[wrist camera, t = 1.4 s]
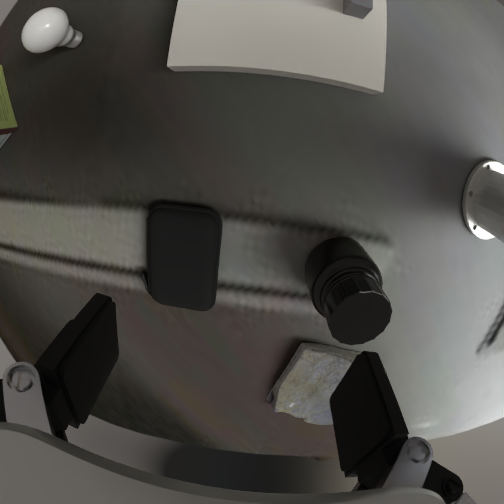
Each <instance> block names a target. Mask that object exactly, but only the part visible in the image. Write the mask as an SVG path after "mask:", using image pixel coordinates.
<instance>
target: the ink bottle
mask: <svg viewBox="0 0 504 504" xmlns="http://www.w3.org/2000/svg"><path fill="white" fill-rule="evenodd" d="M305 276H306V281H307V284H308V288H309V292H310V296H311V300H312V303H313V305H314V307H315V309H316V310H317V311H318V312H319V313H320V314H321V315H322V316H323V317H325V318H326V320H327V323H328V327H329V329H330V331H331V334H332V337H333V338H335V339H336V340H338V341H339V342H340V343H344V344H349V345H356V344H364V343H365V342H368V341H370V340H373V339H375V337H377V336H378V335H379V334H380V333H382V332H383V331H384V329H385V328H386V326H387V325H388V323H389V322H390V318H391V314H392V309H391V304H390V301H389V299H388V298H387V296H386V294H385V293H384V291H383V290H382V276H381V273H380V270H379V268H378V267H377V265H376V264H375V263H374V261H373V260H372V259H371V257H370V256H369V255H368V253H367V252H366V251H365V250H364V248H363V247H362V246H361V245H360V244H359V243H358V242H356V241H355V240H353V239H350V238H346V237H336V238H331V239H328V240H326V241H324V242H322V243H320V244H319V245H317V246H316V247H315V248H314V249H313V250H312V251H311V252H310V254H309V256H308V258H307V260H306V264H305Z"/></svg>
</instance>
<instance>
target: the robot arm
mask: <svg viewBox="0 0 504 504" xmlns="http://www.w3.org/2000/svg"><path fill="white" fill-rule="evenodd" d="M463 216H464V220H465V223H466V225H467V227H468V229H469V230H470V232H471V233H472V234H474V235H475V236H476V237H478V238H480V239H484V240H485V239H491V238H493V237H496V238H497V239H499V240H501V241H502V242H504V165H503V164H501V163H500V162H497V161H494V160H485V161H483V162H481V163H479V164H478V165H477V166H476V167H475V168H474V169H473V171H472V172H471V174H470V176H469V177H468V180H467V182H466V185H465V189H464V193H463ZM118 356H119V348H118V337H117V323H116V305H115V302H112V298H111V297H109V296H106V295H103V294H100V293H96V294H95V295H94V296H93V297H92V298H91V300H90V301H89V302H88V303H87V304H86V305H85V307H84V308H83V309H82V310H81V311H80V312H79V314H78V315H77V316H76V317H75V318H74V320H70V321H69V322H68V323H67V324H66V325H65V327H64V328H63V329H62V330H61V331H60V333H59V334H58V335H57V336H56V338H55V339H54V340H53V341H52V343H51V344H50V345H49V347H48V348H47V349H46V350H45V352H44V353H43V354H42V356H41V357H40V358H39V360H38V361H37V362H36V364H35V365H34V366H32V365H31V364H29V363H26V362H17V363H14V364H12V365H10V366H9V367H8V368H7V369H6V370H5V372H4V374H3V379H0V504H476V503H475V502H474V500H473V499H472V498H471V497H470V496H469V495H468V494H467V493H466V492H465V493H463V483H462V481H461V479H460V478H459V477H458V476H457V475H456V474H454V473H453V472H451V471H449V470H447V469H446V468H444V467H443V466H441V465H440V464H438V463H436V462H435V461H433V460H432V459H433V450H432V448H431V445H430V444H429V443H428V442H427V441H426V440H425V439H423V438H421V437H411V438H409V439H408V436H407V435H408V434H409V432H408V429H407V427H406V424H405V421H404V418H403V416H402V413H401V410H400V407H399V405H398V402H397V399H396V397H395V394H394V392H393V389H392V387H391V384H390V382H389V379H388V377H387V374H386V372H385V369H384V367H383V365H382V362H381V360H380V357H379V355H378V353H376V352H369V351H363V352H361V354H358V355H357V356H356V357H355V359H354V361H353V362H352V364H351V366H350V367H349V369H348V370H347V372H346V373H345V375H344V377H343V378H342V380H341V381H340V383H339V384H338V386H337V387H336V389H335V390H334V392H333V393H332V395H331V397H330V402H329V403H330V409H331V414H332V420H333V425H334V431H335V437H336V443H337V449H338V455H339V461H340V467H341V470H342V471H344V473H345V477H356V476H357V477H358V483H357V484H356V486H355V487H354V489H353V490H352V491H351V492H340V493H324V494H273V493H257V492H245V491H236V490H228V489H221V488H215V487H209V486H203V485H198V484H192V483H188V482H183V481H179V480H175V479H170V478H166V477H162V476H159V475H155V474H152V473H148V472H145V471H141V470H138V469H135V468H132V467H129V466H126V465H123V464H121V463H118V462H115V461H112V460H110V459H107V458H104V457H102V456H99V455H97V454H94V453H92V452H89V451H87V450H85V449H82V448H80V447H78V446H75V445H73V444H71V443H69V442H68V439H67V436H66V433H65V430H66V429H67V427H68V425H71V426H73V427H75V428H77V429H78V427H79V425H80V423H82V424H84V423H85V422H86V420H87V418H88V416H89V414H90V412H91V410H92V408H93V406H94V404H95V402H96V400H97V398H98V396H99V394H100V392H101V390H102V388H103V386H104V384H105V382H106V380H107V378H108V377H109V375H110V373H111V371H112V369H113V367H114V365H115V363H116V362H117V359H118Z"/></svg>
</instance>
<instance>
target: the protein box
mask: <svg viewBox="0 0 504 504" xmlns="http://www.w3.org/2000/svg"><path fill="white" fill-rule="evenodd" d="M17 127H18V125H17V122H16V119H15V116H14V112H13V109H12V105H11V102H10V98H9V94H8V90H7V86H6V82H5V77H4V72H3V68H2V65H0V149H1V148H2V146H3V145H4V144H5V142H6V141H7V140H8V138H9V137H10V136H11V135H12V133H13V132H14V131H15V130H16V128H17Z"/></svg>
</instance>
